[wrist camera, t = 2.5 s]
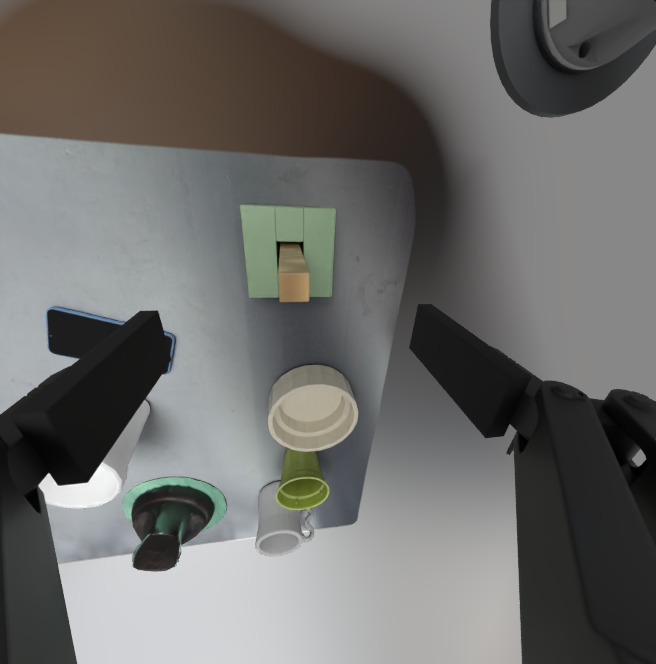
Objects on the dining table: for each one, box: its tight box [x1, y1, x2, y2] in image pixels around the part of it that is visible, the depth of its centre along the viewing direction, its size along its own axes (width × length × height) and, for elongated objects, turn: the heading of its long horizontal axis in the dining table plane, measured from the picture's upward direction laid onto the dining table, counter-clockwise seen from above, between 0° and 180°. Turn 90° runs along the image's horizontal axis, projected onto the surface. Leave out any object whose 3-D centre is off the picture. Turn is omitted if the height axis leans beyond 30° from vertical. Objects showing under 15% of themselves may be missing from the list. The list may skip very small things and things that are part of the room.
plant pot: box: [276, 448, 329, 510], centre depth 50 cm, size 9×9×9 cm
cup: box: [38, 400, 150, 508], centre depth 37 cm, size 10×10×13 cm
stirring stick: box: [278, 242, 309, 302], centre depth 27 cm, size 2×2×18 cm
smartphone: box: [46, 307, 175, 374], centre depth 37 cm, size 7×1×15 cm
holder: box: [240, 204, 336, 298], centre depth 32 cm, size 10×10×6 cm
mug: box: [255, 481, 314, 556], centre depth 54 cm, size 12×9×10 cm
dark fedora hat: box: [122, 477, 226, 571], centre depth 53 cm, size 15×19×20 cm
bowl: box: [268, 365, 358, 452], centre depth 44 cm, size 14×14×6 cm
